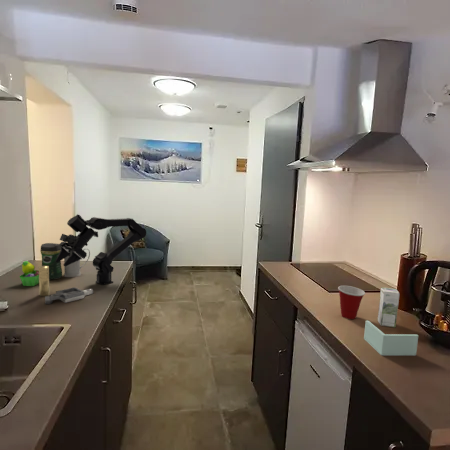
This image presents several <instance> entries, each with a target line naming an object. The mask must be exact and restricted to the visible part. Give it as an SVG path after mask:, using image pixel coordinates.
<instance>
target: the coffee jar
mask: <svg viewBox="0 0 450 450" xmlns="http://www.w3.org/2000/svg"><path fill="white" fill-rule="evenodd" d="M59 244H60V243H56V242H55V243H54V242H46V243H42V244H41V245H40V254H41V266H49V280H56V279H57V280H58V279H60V278H62V276H63V270H62V262H61V261H62V260H61V261H59V262H58V263H57V262H55V261H56V259H57V257H58V255H59V253H60V247H59V246H60V245H59Z"/></svg>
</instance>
